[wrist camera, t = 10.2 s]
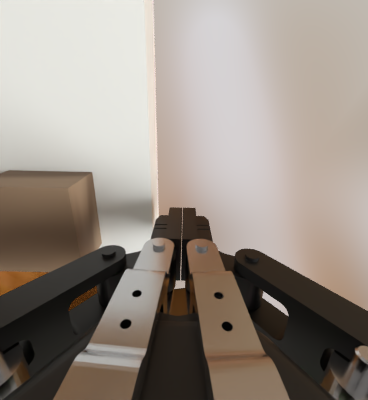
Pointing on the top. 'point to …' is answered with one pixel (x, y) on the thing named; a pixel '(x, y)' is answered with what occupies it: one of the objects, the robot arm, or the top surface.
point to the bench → (84, 103)
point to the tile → (46, 219)
